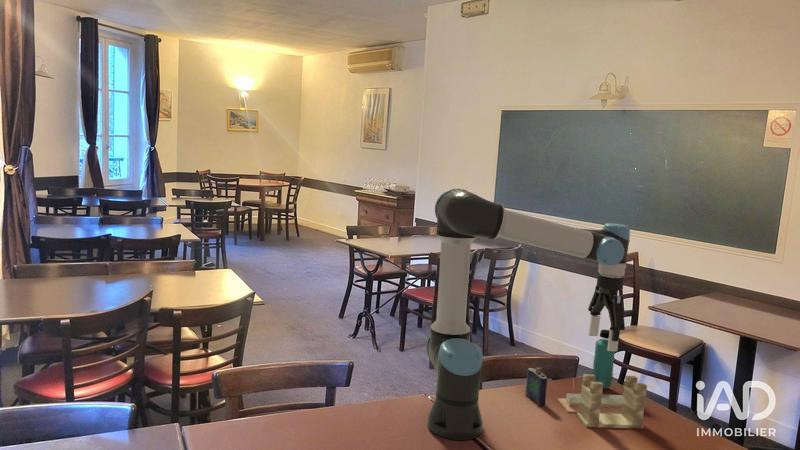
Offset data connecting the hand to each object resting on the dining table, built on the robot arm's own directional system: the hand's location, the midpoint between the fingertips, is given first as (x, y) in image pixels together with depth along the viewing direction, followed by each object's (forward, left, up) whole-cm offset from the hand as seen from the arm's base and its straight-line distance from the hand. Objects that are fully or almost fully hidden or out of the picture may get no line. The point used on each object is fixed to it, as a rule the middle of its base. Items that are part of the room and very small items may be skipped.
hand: (602, 343), depth 176 cm
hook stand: (0, -10, -21) cm, 23 cm away
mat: (0, 0, -21) cm, 21 cm away
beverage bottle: (+8, +15, -21) cm, 27 cm away
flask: (-18, +4, -21) cm, 28 cm away
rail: (0, 0, -20) cm, 20 cm away
